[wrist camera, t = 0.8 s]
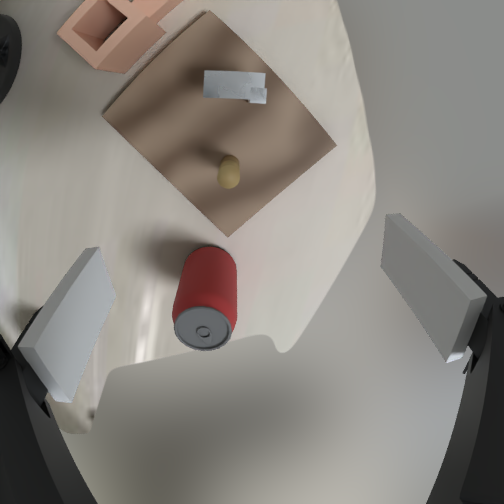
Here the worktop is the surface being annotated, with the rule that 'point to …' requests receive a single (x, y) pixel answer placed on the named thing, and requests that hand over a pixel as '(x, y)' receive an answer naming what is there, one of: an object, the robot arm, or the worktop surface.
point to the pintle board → (217, 126)
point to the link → (123, 39)
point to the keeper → (235, 85)
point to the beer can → (206, 300)
